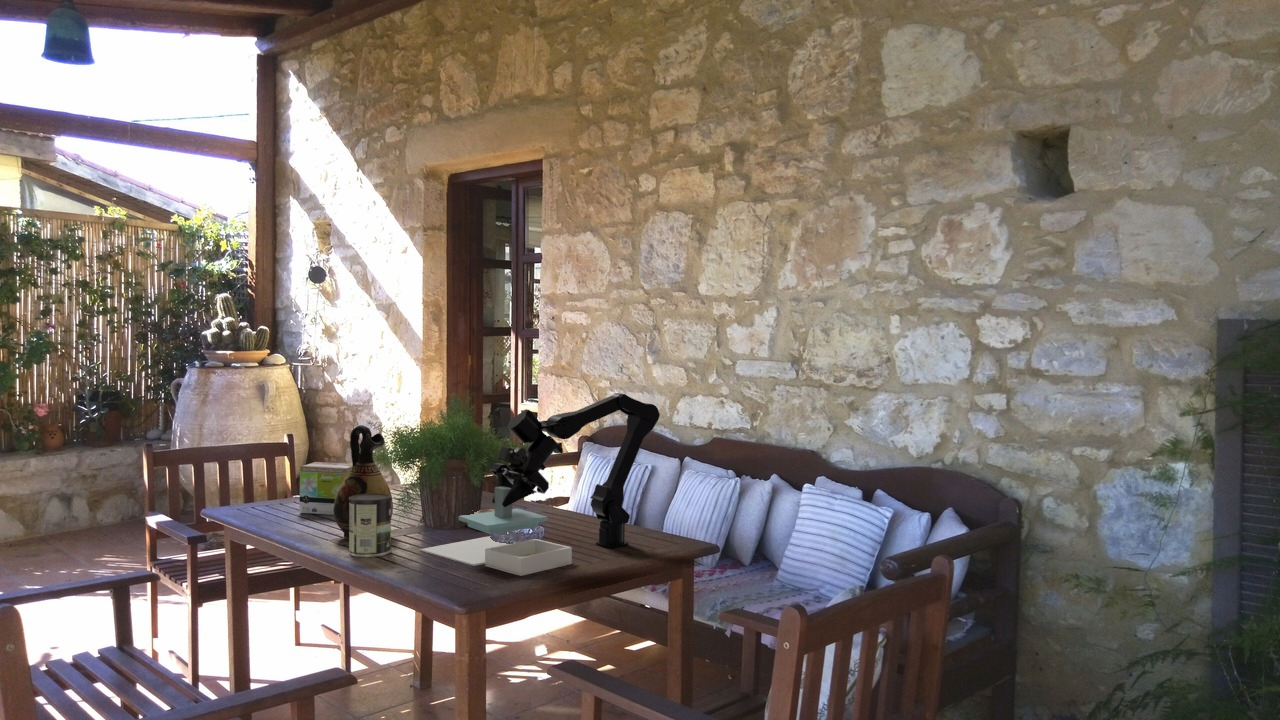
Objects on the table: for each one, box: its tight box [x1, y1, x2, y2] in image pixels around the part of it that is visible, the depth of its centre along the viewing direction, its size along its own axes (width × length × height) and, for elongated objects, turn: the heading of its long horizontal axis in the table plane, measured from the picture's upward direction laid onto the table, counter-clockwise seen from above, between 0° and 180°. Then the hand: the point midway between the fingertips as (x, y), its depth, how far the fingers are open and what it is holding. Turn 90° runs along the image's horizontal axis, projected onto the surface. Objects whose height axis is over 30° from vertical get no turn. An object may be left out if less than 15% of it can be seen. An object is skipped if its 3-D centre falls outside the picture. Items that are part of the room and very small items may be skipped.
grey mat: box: [419, 535, 508, 567], centre depth 234 cm, size 22×22×1 cm
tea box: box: [298, 461, 353, 516], centre depth 281 cm, size 15×10×15 cm, turn 83°
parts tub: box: [484, 538, 573, 577], centre depth 220 cm, size 16×13×4 cm
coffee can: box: [348, 494, 393, 558], centre depth 230 cm, size 10×10×14 cm
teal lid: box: [458, 486, 549, 535], centre depth 225 cm, size 17×14×10 cm
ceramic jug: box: [333, 424, 394, 541], centre depth 247 cm, size 17×15×30 cm
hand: (498, 504), depth 224 cm, fingers closed on teal lid, 4 cm apart
